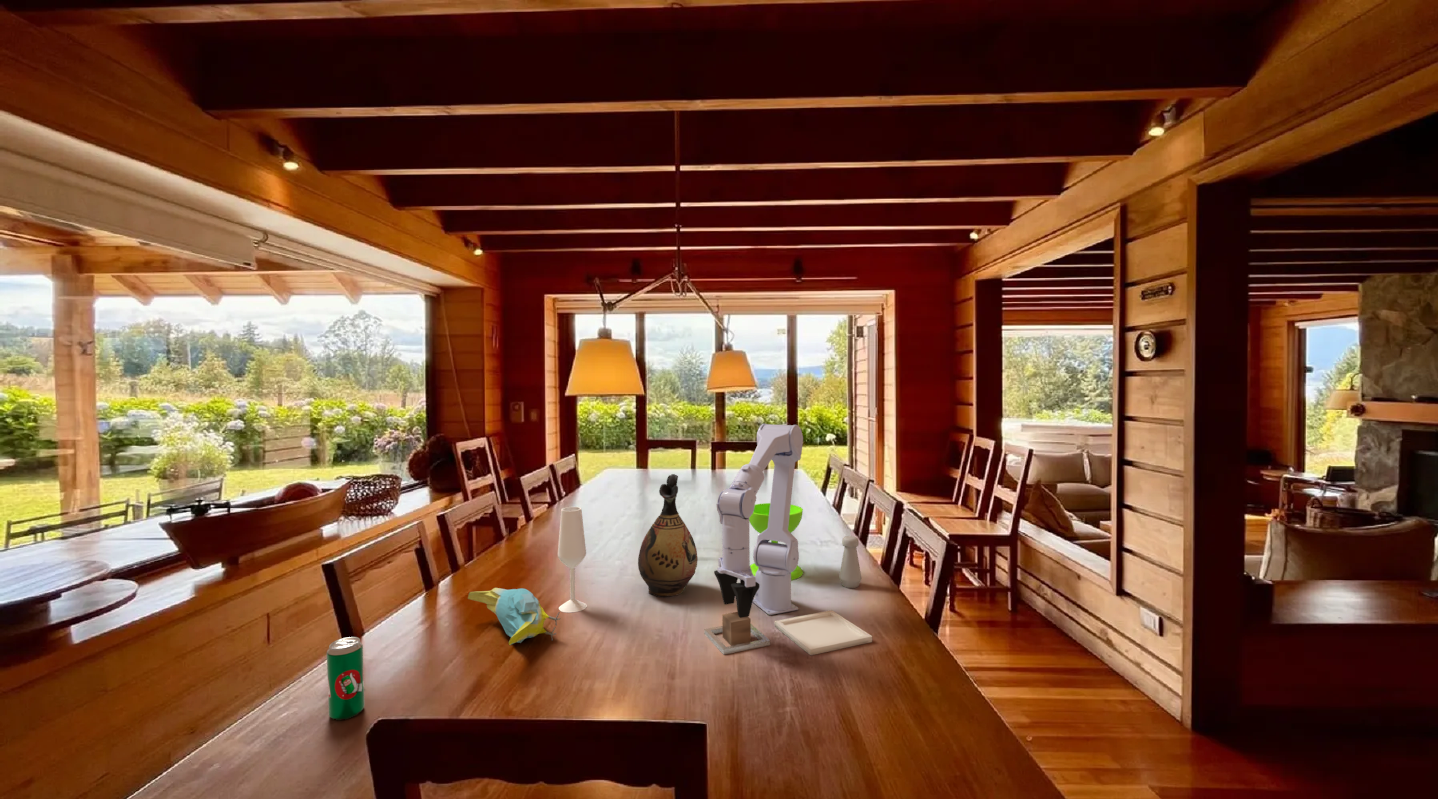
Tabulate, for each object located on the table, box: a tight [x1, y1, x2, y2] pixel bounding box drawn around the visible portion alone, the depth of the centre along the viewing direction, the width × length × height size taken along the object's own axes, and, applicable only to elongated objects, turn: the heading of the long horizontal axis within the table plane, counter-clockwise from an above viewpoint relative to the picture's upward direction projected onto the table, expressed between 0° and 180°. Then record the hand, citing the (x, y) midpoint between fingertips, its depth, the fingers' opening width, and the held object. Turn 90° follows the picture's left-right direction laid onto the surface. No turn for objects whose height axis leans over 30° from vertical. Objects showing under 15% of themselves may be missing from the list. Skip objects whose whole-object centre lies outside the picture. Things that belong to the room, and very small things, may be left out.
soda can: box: [326, 636, 366, 721], centre depth 98 cm, size 5×5×12 cm
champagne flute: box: [557, 506, 588, 614], centre depth 143 cm, size 7×7×24 cm
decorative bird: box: [467, 587, 561, 646], centre depth 127 cm, size 14×30×9 cm, turn 36°
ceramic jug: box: [637, 473, 698, 598], centre depth 155 cm, size 17×15×30 cm
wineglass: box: [749, 502, 804, 581], centre depth 168 cm, size 16×16×18 cm
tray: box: [774, 609, 873, 656], centre depth 128 cm, size 15×15×1 cm
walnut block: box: [721, 611, 752, 646], centre depth 125 cm, size 4×4×5 cm
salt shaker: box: [838, 535, 862, 589], centre depth 157 cm, size 6×6×13 cm
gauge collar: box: [703, 623, 771, 655], centre depth 125 cm, size 10×10×1 cm
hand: (736, 609), depth 125 cm, fingers open, 7 cm apart
